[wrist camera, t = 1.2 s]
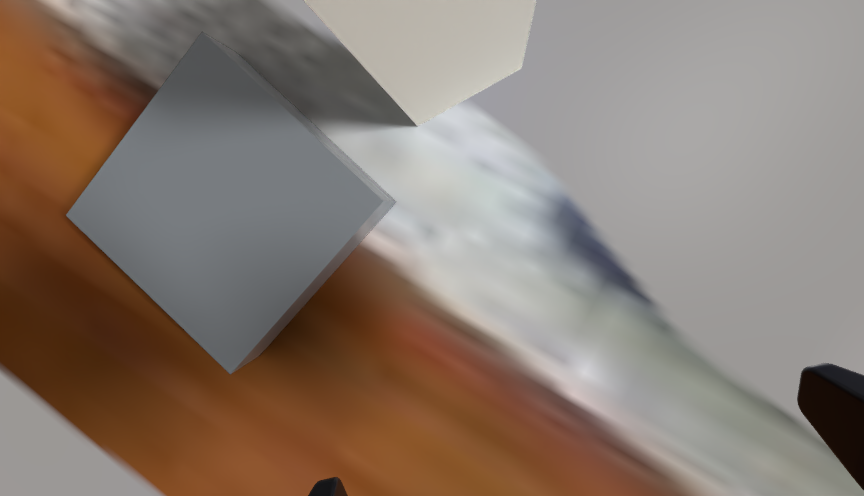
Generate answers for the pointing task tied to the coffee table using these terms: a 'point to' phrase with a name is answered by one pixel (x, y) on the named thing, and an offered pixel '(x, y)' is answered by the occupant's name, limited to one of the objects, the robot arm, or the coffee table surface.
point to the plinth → (228, 204)
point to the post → (431, 46)
